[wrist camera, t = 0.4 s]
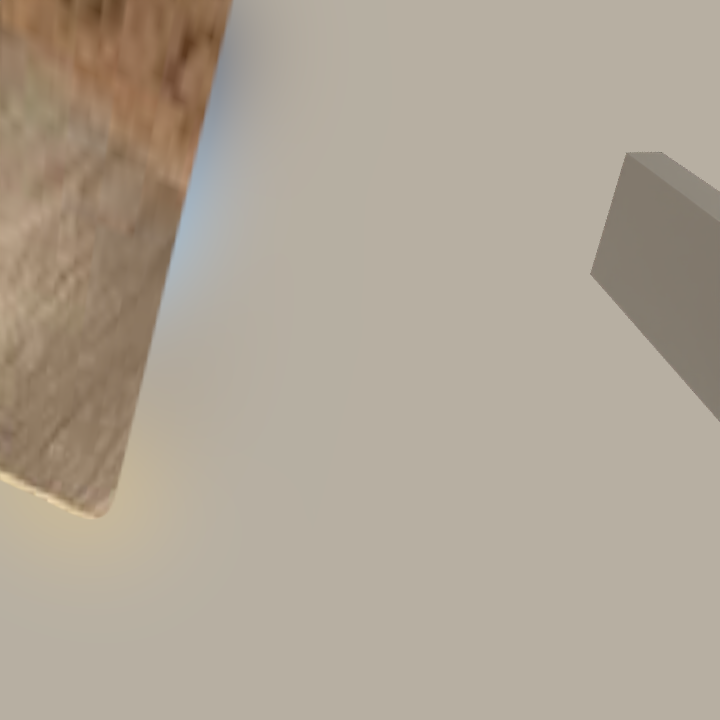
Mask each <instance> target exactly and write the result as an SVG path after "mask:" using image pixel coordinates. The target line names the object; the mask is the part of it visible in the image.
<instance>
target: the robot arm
mask: <svg viewBox="0 0 720 720" xmlns="http://www.w3.org/2000/svg"><path fill="white" fill-rule="evenodd" d="M591 275H592V276H593V278H594V279H595V280H596V281H597V282H598V283H599V284H600V286H601V287H602V288H603V289H604V290H605V291H606V292H607V294H608V295H609V296H610V297H611V298H612V299H613V300H614V301H615V303H616V304H617V305H618V306H619V307H620V308H621V309H622V311H623V312H624V313H625V314H626V315H627V316H628V318H629V319H630V320H631V321H632V322H633V323H634V324H635V325H636V327H637V328H638V329H639V330H640V331H641V332H642V333H643V335H644V336H645V337H646V338H647V339H648V340H649V341H650V342H651V344H652V345H653V346H654V347H655V348H656V349H657V351H658V352H659V353H660V354H661V355H662V356H663V357H664V358H665V360H666V361H667V362H668V363H669V364H670V365H671V367H672V368H673V369H674V370H675V371H676V372H677V373H678V375H679V376H680V377H681V378H682V379H683V380H684V381H685V383H686V384H687V385H688V386H689V387H690V388H691V389H692V391H693V392H694V393H695V394H696V395H697V396H698V397H699V399H700V400H701V401H702V402H703V403H704V404H705V405H706V407H707V408H708V409H709V410H710V411H711V412H712V413H713V414H714V416H715V417H716V418H717V419H718V420H719V421H720V192H719V191H718V190H716V189H715V188H713V187H712V186H710V185H709V184H708V183H706V182H705V181H703V180H702V179H700V178H699V177H697V176H696V175H694V174H693V173H691V172H690V171H688V170H687V169H685V168H684V167H683V166H681V165H679V164H678V163H677V162H675V161H674V160H672V159H671V158H669V157H668V156H667V155H665V154H663V153H662V152H639V153H638V152H637V153H626V156H625V159H624V163H623V166H622V169H621V173H620V176H619V179H618V183H617V186H616V189H615V193H614V196H613V200H612V203H611V207H610V210H609V213H608V216H607V220H606V223H605V226H604V230H603V233H602V237H601V240H600V243H599V247H598V250H597V253H596V257H595V260H594V263H593V267H592V270H591Z"/></svg>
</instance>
